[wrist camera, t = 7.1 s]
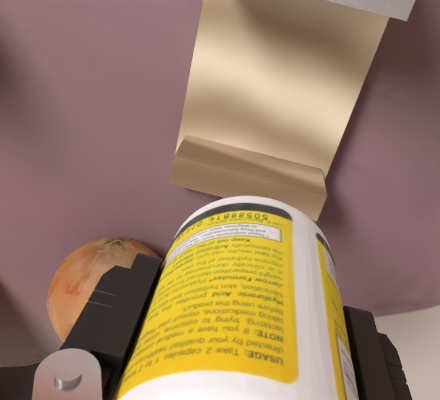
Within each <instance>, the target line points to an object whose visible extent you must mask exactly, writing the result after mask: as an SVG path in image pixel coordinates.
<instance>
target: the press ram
mask: <svg viewBox="0 0 440 400" xmlns="http://www.w3.org/2000/svg"><path fill="white" fill-rule="evenodd" d="M326 1H330V2H334V3H338V4H341V5H345V6H349V7H353V8H357V9H361V10H365V11H369V12H372V13H376V14H380V15H384V16H388V17H392V18H396V19H400V20H404V21H407V19H408V17H409V14H410V12H411V10H412V7H413V5H414V3H415V0H326Z"/></svg>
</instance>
